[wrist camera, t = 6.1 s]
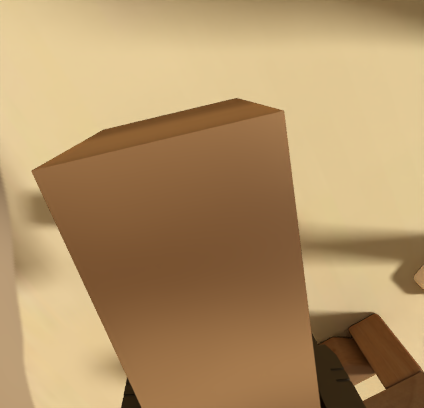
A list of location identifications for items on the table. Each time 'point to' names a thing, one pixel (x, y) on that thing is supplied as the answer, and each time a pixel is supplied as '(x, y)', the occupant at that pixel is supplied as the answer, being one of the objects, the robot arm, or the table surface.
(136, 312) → the walnut bar
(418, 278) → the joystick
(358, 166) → the table surface
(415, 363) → the brown rod with wedge
